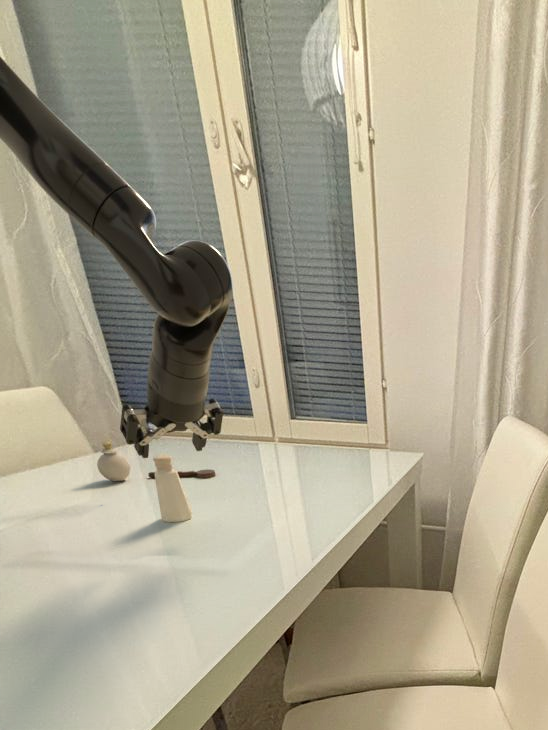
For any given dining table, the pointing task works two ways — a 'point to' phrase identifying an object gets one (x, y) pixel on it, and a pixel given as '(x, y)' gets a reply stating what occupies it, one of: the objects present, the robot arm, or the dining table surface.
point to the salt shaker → (170, 492)
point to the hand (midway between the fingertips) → (170, 450)
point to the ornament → (112, 463)
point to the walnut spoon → (191, 474)
